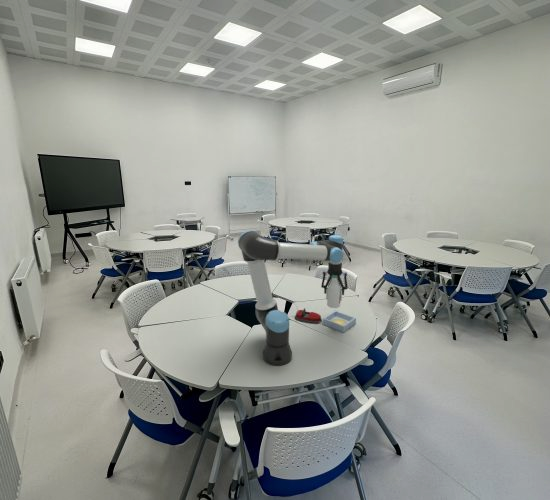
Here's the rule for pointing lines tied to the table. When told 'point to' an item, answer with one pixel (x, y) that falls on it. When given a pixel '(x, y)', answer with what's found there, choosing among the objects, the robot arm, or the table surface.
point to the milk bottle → (334, 293)
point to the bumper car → (307, 316)
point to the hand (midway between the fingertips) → (333, 299)
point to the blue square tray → (339, 321)
